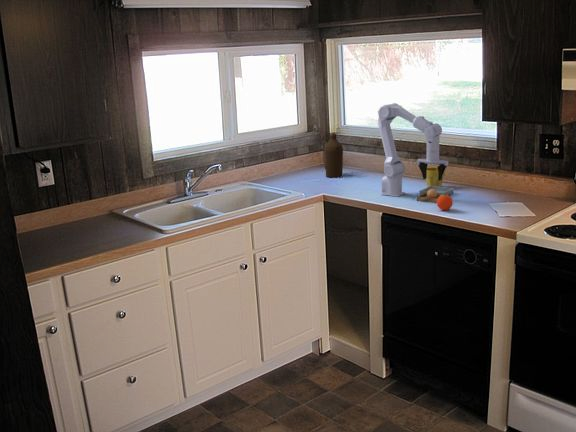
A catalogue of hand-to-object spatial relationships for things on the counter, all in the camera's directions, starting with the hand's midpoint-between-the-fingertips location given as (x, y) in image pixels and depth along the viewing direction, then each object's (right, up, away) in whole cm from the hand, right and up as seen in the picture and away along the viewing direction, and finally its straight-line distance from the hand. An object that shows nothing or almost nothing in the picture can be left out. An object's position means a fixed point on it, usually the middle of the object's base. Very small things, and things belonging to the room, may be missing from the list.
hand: (432, 179), depth 293 cm
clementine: (+2, -15, -15) cm, 21 cm away
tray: (0, -10, +2) cm, 10 cm away
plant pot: (+7, -3, +27) cm, 28 cm away
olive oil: (-41, +5, +65) cm, 77 cm away
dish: (+5, -6, +13) cm, 15 cm away
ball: (0, -7, +2) cm, 7 cm away
